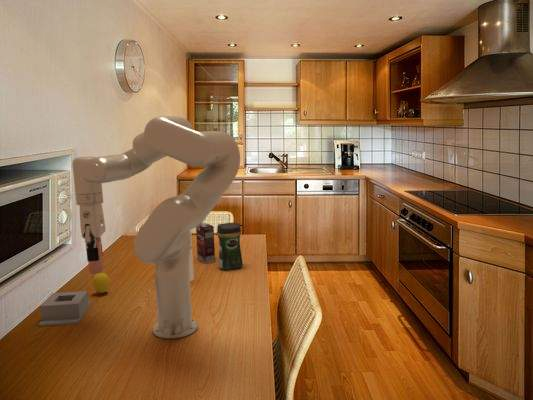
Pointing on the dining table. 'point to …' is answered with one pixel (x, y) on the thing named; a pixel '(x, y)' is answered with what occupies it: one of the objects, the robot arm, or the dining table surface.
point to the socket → (64, 308)
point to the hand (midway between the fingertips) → (95, 258)
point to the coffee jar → (229, 246)
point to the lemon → (101, 282)
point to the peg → (96, 266)
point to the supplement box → (205, 243)
